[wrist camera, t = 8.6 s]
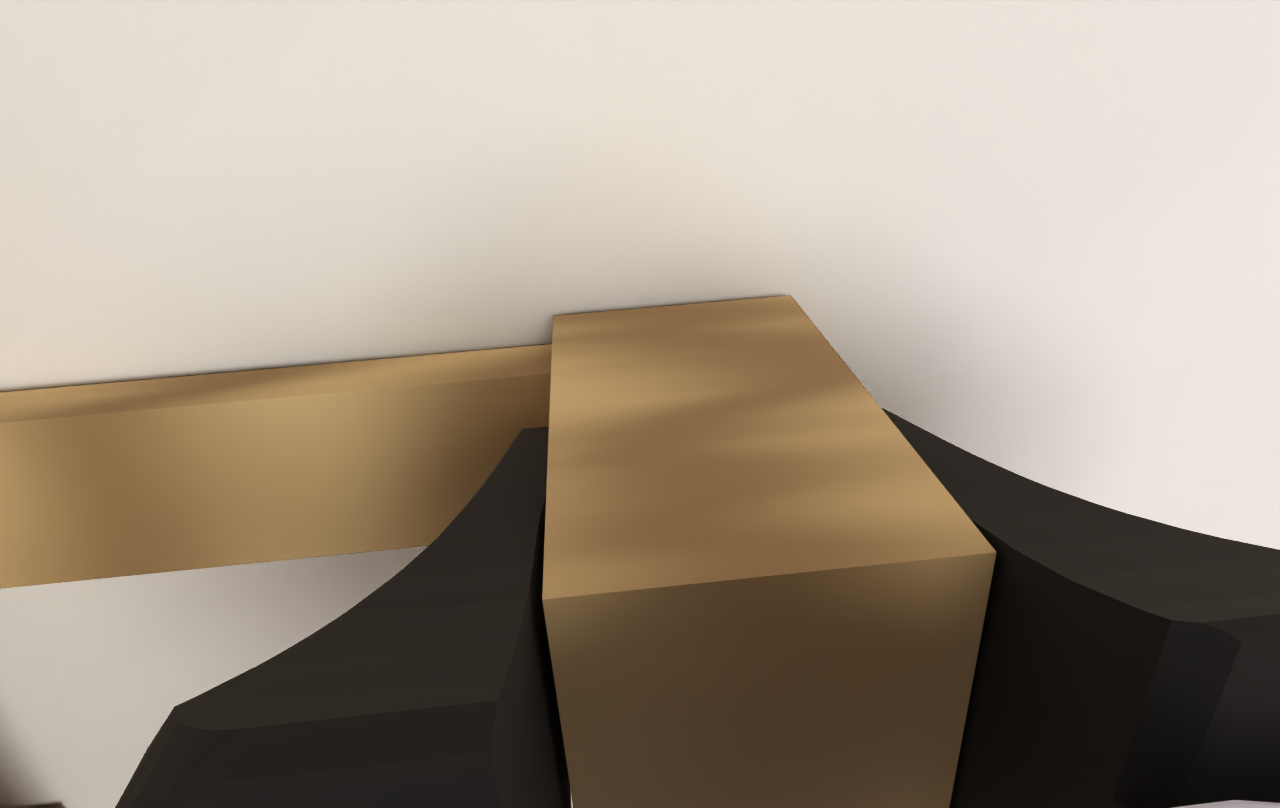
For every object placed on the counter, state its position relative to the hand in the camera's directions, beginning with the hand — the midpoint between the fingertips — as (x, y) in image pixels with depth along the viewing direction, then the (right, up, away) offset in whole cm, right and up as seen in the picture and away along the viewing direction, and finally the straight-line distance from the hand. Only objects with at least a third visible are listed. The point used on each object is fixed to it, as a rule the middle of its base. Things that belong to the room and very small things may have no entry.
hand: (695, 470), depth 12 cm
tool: (-7, 0, +2) cm, 7 cm away
